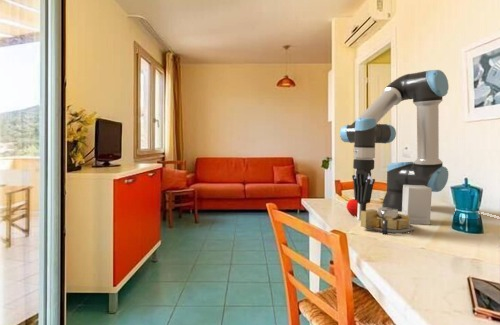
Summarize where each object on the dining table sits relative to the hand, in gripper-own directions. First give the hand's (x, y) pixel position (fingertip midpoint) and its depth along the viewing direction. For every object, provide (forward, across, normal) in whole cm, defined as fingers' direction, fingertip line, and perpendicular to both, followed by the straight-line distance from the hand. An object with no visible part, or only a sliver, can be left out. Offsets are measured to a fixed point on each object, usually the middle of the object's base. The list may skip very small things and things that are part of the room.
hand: (361, 219), depth 126 cm
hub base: (+3, +1, +10) cm, 10 cm away
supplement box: (+3, -5, +27) cm, 28 cm away
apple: (+4, -20, +8) cm, 22 cm away
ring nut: (+2, +1, +8) cm, 9 cm away
